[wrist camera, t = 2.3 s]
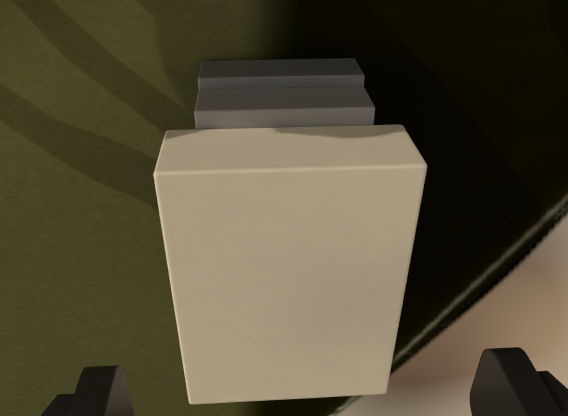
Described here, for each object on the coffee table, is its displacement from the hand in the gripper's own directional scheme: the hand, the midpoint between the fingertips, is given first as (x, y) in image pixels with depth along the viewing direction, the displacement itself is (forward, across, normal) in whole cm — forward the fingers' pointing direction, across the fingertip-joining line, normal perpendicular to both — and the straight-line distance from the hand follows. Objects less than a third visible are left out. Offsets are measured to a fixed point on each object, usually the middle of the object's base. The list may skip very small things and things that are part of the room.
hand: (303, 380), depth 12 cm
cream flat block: (+4, 0, 0) cm, 5 cm away
